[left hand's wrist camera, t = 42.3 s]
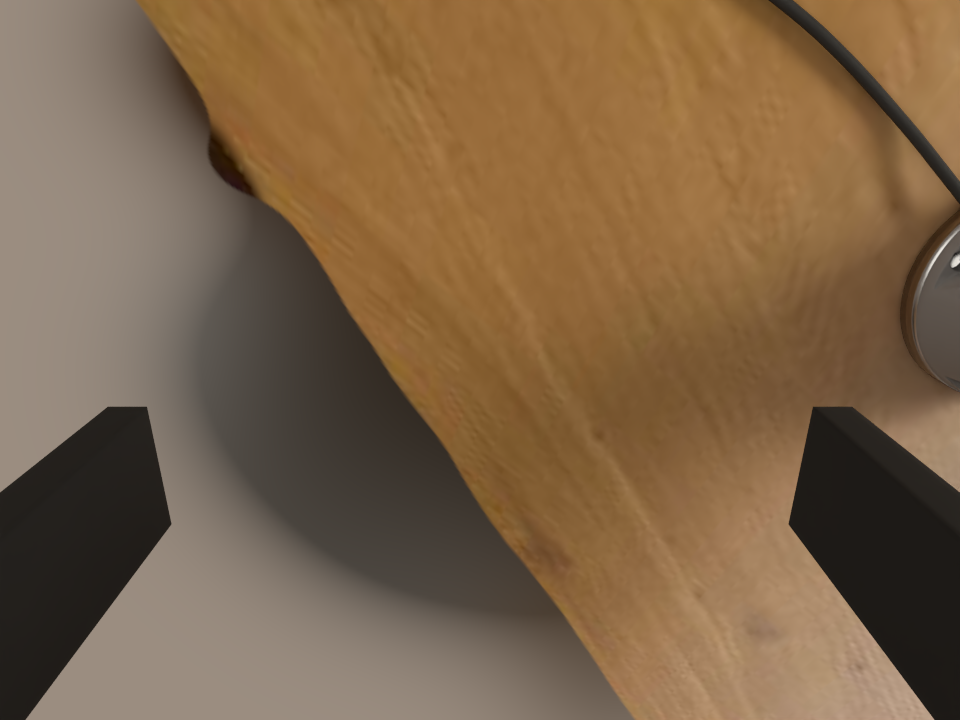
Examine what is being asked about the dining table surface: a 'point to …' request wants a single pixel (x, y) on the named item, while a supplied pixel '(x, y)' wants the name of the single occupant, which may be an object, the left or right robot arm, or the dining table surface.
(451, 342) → the dining table surface
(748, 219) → the dining table surface
